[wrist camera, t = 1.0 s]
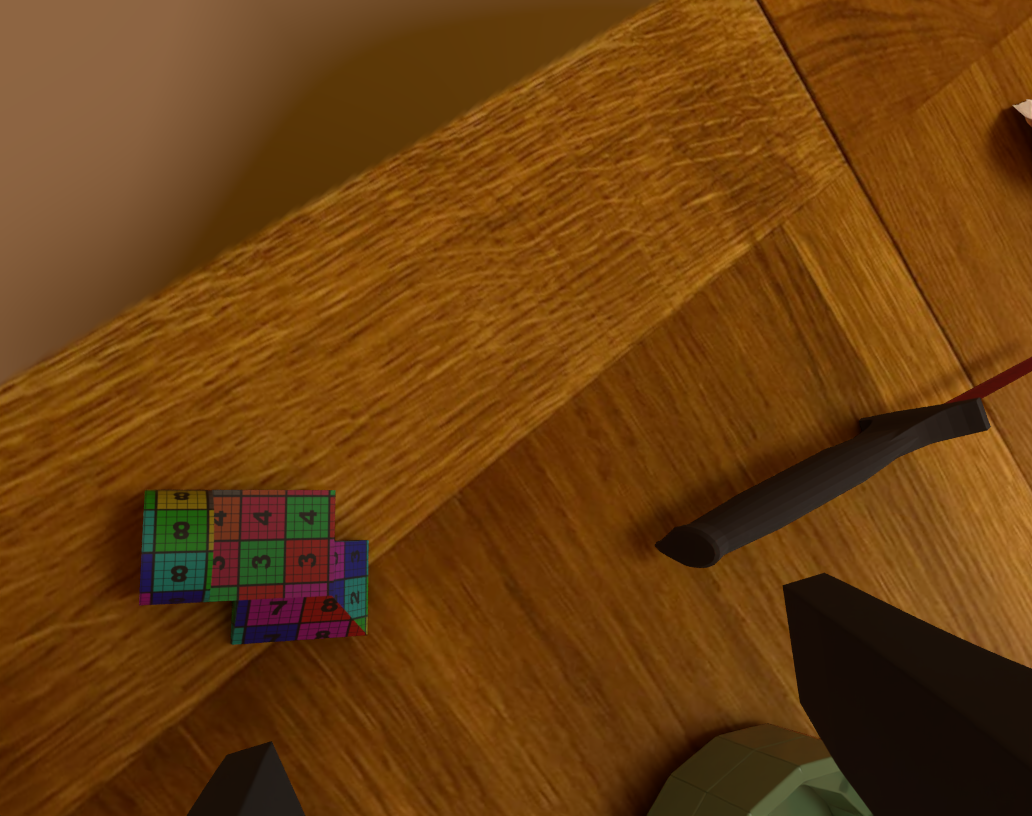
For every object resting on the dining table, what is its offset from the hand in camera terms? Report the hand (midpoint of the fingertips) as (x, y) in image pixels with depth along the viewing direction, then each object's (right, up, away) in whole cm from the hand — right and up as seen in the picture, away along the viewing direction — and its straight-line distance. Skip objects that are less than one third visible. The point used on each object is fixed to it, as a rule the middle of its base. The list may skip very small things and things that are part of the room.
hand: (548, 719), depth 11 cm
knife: (+14, +3, +22) cm, 26 cm away
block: (-8, 0, +12) cm, 14 cm away
